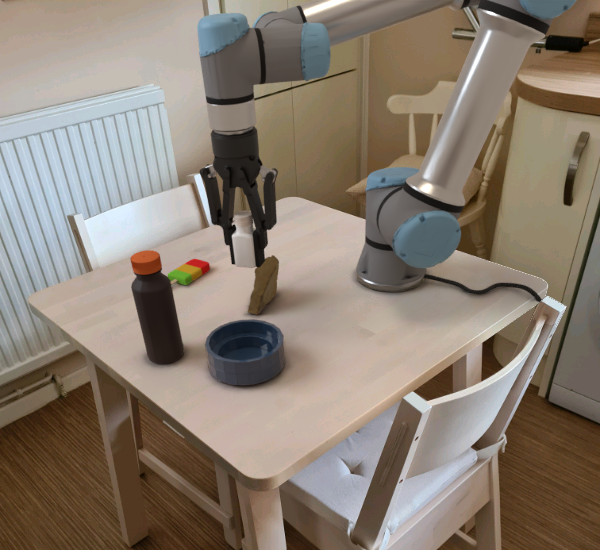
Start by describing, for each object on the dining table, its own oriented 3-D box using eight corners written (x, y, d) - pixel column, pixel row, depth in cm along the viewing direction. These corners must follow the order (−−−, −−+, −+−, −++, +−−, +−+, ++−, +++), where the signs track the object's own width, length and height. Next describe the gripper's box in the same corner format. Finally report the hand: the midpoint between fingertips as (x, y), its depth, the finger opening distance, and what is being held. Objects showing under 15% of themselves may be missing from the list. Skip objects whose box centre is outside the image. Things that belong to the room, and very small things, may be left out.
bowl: (295, 349, 116) (293, 324, 112) (269, 393, 105) (267, 367, 102) (227, 339, 119) (224, 315, 116) (196, 381, 109) (191, 355, 106)
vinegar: (168, 340, 120) (147, 244, 107) (191, 352, 116) (173, 254, 104) (140, 356, 116) (116, 258, 103) (164, 369, 112) (142, 269, 100)
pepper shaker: (234, 267, 112) (228, 217, 106) (242, 258, 115) (236, 208, 109) (254, 269, 111) (249, 219, 105) (262, 260, 114) (257, 210, 108)
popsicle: (212, 269, 143) (211, 262, 142) (168, 297, 133) (167, 290, 132) (194, 264, 146) (193, 257, 144) (150, 292, 136) (148, 284, 135)
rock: (261, 313, 122) (297, 289, 126) (237, 275, 120) (275, 252, 125) (240, 323, 132) (275, 301, 136) (218, 289, 130) (254, 267, 134)
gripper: (291, 123, 99) (299, 258, 113) (195, 119, 104) (214, 249, 118) (275, 137, 93) (285, 277, 108) (174, 132, 98) (197, 266, 113)
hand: (248, 262), depth 113 cm, fingers closed on pepper shaker, 4 cm apart
